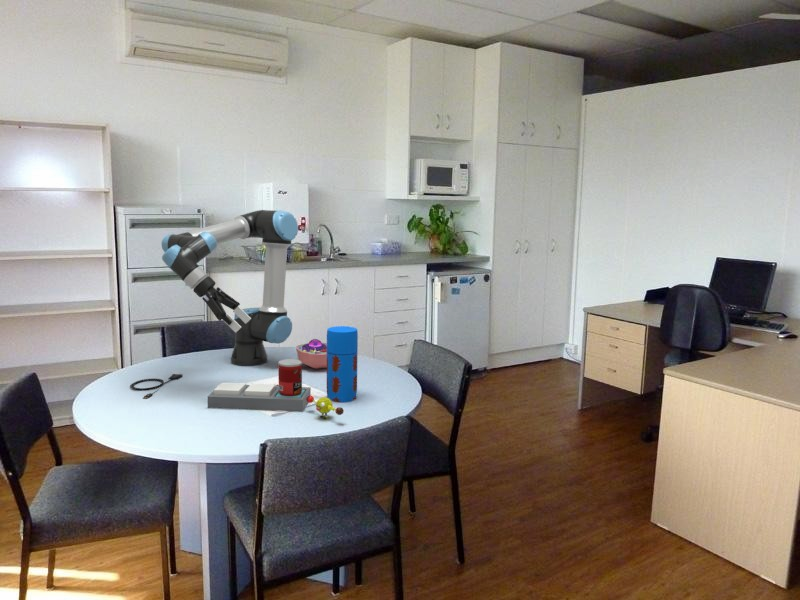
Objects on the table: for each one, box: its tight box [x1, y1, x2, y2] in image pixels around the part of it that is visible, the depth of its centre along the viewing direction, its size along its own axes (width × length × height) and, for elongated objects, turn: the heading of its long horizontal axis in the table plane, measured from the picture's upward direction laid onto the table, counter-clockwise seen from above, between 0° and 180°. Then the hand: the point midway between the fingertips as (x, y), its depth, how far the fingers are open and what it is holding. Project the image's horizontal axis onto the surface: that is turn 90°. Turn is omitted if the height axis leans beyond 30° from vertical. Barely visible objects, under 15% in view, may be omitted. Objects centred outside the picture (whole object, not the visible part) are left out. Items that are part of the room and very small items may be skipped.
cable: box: [129, 373, 184, 400], centre depth 235 cm, size 14×28×2 cm, turn 174°
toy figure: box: [306, 394, 344, 419], centre depth 205 cm, size 18×6×7 cm, turn 45°
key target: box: [275, 390, 305, 398], centre depth 218 cm, size 8×8×4 cm
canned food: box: [277, 358, 303, 396], centre depth 217 cm, size 8×8×11 cm
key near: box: [213, 382, 247, 395], centre depth 219 cm, size 8×8×4 cm
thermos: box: [326, 325, 359, 403], centre depth 224 cm, size 11×11×25 cm
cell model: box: [295, 338, 327, 370], centre depth 265 cm, size 17×20×11 cm
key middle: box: [245, 383, 277, 396], centre depth 218 cm, size 8×8×4 cm
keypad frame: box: [206, 384, 312, 412], centre depth 218 cm, size 14×32×4 cm, turn 87°
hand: (243, 325), depth 225 cm, fingers open, 13 cm apart
